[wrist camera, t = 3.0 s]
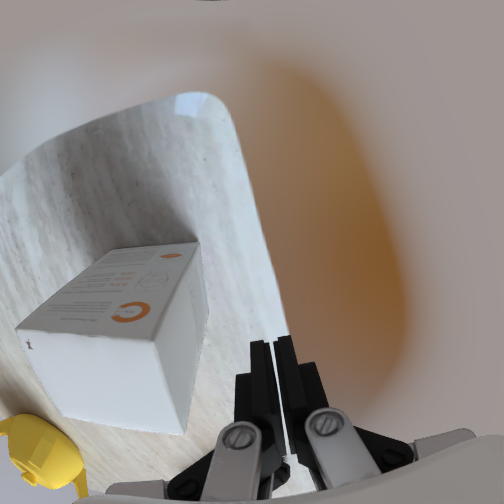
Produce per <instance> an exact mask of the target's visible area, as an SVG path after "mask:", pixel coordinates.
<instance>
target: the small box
mask: <svg viewBox="0 0 504 504" xmlns="http://www.w3.org/2000/svg"><path fill="white" fill-rule="evenodd" d="M208 315H209V307H208V301H207V294H206V287H205V280H204V272H203V264H202V256H201V248H200V243H199V242H194V243H181V244H168V245H156V246H145V247H134V248H124V249H115V250H110V251H109V252H108V253H107V254H105V255H104V256H102V257H101V258H100V259H98V260H97V261H96V262H95V263H93V264H92V265H91V266H89V267H88V268H87V269H86V270H84V271H83V272H82V273H80V274H79V275H78V276H76V277H75V278H74V279H73V280H71V281H70V282H69V283H67V284H66V285H65V286H64V287H62V288H61V289H60V290H59V291H57V292H56V293H55V294H54V295H52V296H51V297H50V298H49V299H48V300H47V301H45V302H44V303H43V304H42V305H41V306H39V307H38V308H37V309H36V310H35V311H34V312H33V313H31V314H30V315H29V316H28V317H27V318H26V319H25V320H23V321H22V322H21V323H20V324H19V325H18V326H17V327H16V328H15V331H16V333H17V336H18V338H19V341H20V343H21V345H22V348H23V350H24V352H25V354H26V356H27V358H28V360H29V362H30V364H31V366H32V368H33V370H34V372H35V374H36V376H37V377H38V379H39V381H40V383H41V384H42V386H43V388H44V389H45V391H46V393H47V394H48V396H49V397H50V399H51V401H52V402H53V404H54V405H55V407H56V408H57V409H58V411H59V412H60V414H61V415H62V416H65V417H69V418H73V419H77V420H82V421H86V422H91V423H95V424H100V425H105V426H111V427H117V428H123V429H130V430H137V431H144V432H153V433H165V434H177V435H185V432H186V427H187V422H188V417H189V411H190V406H191V400H192V395H193V390H194V385H195V379H196V374H197V369H198V364H199V359H200V354H201V349H202V344H203V339H204V335H205V329H206V324H207V320H208Z"/></svg>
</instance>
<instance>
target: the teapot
mask: <svg viewBox="0 0 504 504" xmlns="http://www.w3.org/2000/svg"><path fill="white" fill-rule="evenodd" d="M3 435H8V448H9V455H10V458H11V461H12V462H13V463H14V464H15V466H16V467H18V468H19V469H20V470H21V471H22V472H23V474H22V475H21V477H22V478H23V479H24V480H25V481H26V482H28V483H29V484H30V485H32V486H35V487H36V485H37V484H36V483H39V484H41V485H43V486H44V487H47V488H49V489H57V488H60V487H62V486H64V485H67V484H69V483H70V482H72V481H73V482H74V483H75V486H76V490H77V493H78V497H79V499H81V498H84V497H88V489H87V480H86V470H85V469H84V468H83V467H84V463H83V459H82V456H81V454H80V452H79V450H78V448H77V447H76V445H75V444H74V443H73V442H72V441H71V440H70V439H69V438H68V437H67V436H66V435H64V434H63V433H62V432H61V431H59V430H58V429H57V428H55V427H54V426H53V425H51V424H50V423H48V422H46V421H45V420H43V419H41V418H39V417H37V416H35V415H32V414H18V415H16V416H14V418H13V417H9V418H7V419H5V420H3V421H1V422H0V436H3Z"/></svg>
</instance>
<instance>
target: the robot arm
mask: <svg viewBox="0 0 504 504" xmlns="http://www.w3.org/2000/svg"><path fill="white" fill-rule="evenodd" d="M273 345H274V352H275V358H276V365H277V372H278V379H279V386H280V393H281V399H282V406H283V412H284V418H285V424H286V429H287V434H288V440H289V445H290V451H291V454H297V458H298V463H300V464H302V465H304V466H306V467H308V468H309V472H310V475H311V477H312V480H313V482H314V484H315V487H316V489H317V492H315V493H309V494H304V495H298V496H291V497H284V498H276V499H271V498H272V489H273V480H274V472H275V471H276V470H277V469H278V468H279V467H280V466H281V463H282V458H281V456H285V455H287V454H286V446H285V439H284V431H283V424H282V416H281V409H280V401H279V394H278V388H277V382H276V377H275V372H274V366H273V361H272V356H271V351H270V345H269V342H268V343H264V341H263V340H259V341H252V342H250V359H251V373H244V374H237V375H236V382H235V408H234V423H231V424H229V425H228V426H226V427H224V428H223V430H222V431H221V432H220V434H219V436H218V439H217V443H216V447H215V449H214V450H212V451H211V452H210V453H208V454H207V455H205V456H204V457H203V458H201V459H200V460H199V461H197V462H196V463H194V464H193V465H192V466H190V467H189V468H187V469H186V470H184V471H183V472H181V473H180V474H178V475H177V476H175V477H174V478H173V479H172V480H171V481H164V480H153V481H141V482H120V483H114V484H113V485H111V486H109V488H108V489H107V490H106V493H105V495H95V496H88V497H84V498H81V499H79V500H76V501H75V502H74V503H72V504H504V436H502V435H487V436H481V437H477V438H476V436H475V434H474V432H472V431H471V430H469V429H465V428H463V429H457V430H453V431H450V432H446V433H442V434H439V435H435V436H430V437H426V438H422V439H417V440H414V442H413V443H409V444H406V443H404V442H402V441H399V440H395V439H392V438H389V437H385V436H382V435H379V434H376V433H373V432H370V431H367V430H364V429H361V428H358V427H356V426H353V425H352V423H351V422H350V420H349V418H348V417H347V415H346V414H345V413H344V412H343V411H341V410H339V409H336V408H331V407H329V404H328V402H327V398H326V395H325V392H324V389H323V386H322V383H321V380H320V376H319V373H318V370H317V367H316V364H315V362H309V363H304V364H300V365H298V363H297V359H296V355H295V351H294V347H293V343H292V339H291V335H288V336H282V337H278V341H274V342H273Z"/></svg>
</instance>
